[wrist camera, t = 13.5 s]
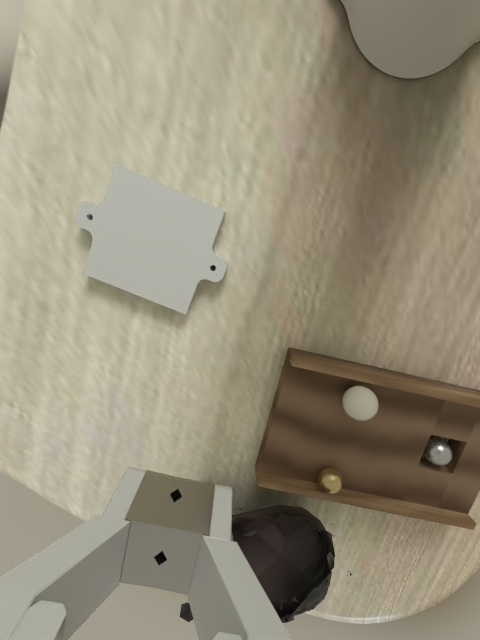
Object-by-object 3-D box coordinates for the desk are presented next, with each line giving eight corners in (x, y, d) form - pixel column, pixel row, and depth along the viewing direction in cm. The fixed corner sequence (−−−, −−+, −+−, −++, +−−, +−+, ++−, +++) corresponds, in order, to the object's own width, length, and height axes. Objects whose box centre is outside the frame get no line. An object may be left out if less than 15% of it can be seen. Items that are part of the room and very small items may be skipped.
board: (288, 347, 38) (294, 358, 34) (503, 395, 39) (532, 411, 35) (255, 464, 42) (257, 486, 38) (452, 504, 43) (473, 529, 39)
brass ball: (319, 460, 39) (325, 477, 36) (341, 464, 39) (349, 481, 36) (313, 479, 39) (318, 497, 36) (334, 483, 39) (342, 501, 36)
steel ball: (456, 452, 36) (457, 444, 39) (426, 437, 38) (429, 429, 41) (445, 475, 37) (447, 465, 40) (416, 459, 39) (420, 450, 42)
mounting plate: (71, 265, 36) (61, 265, 34) (101, 159, 33) (92, 153, 32) (206, 319, 37) (205, 322, 36) (245, 221, 35) (245, 219, 33)
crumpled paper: (198, 558, 44) (327, 543, 45) (184, 692, 30) (375, 666, 30) (188, 474, 43) (322, 459, 43) (168, 571, 28) (370, 547, 29)
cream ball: (343, 377, 36) (355, 391, 32) (373, 384, 36) (389, 399, 32) (333, 405, 37) (344, 423, 33) (363, 412, 37) (378, 430, 33)
